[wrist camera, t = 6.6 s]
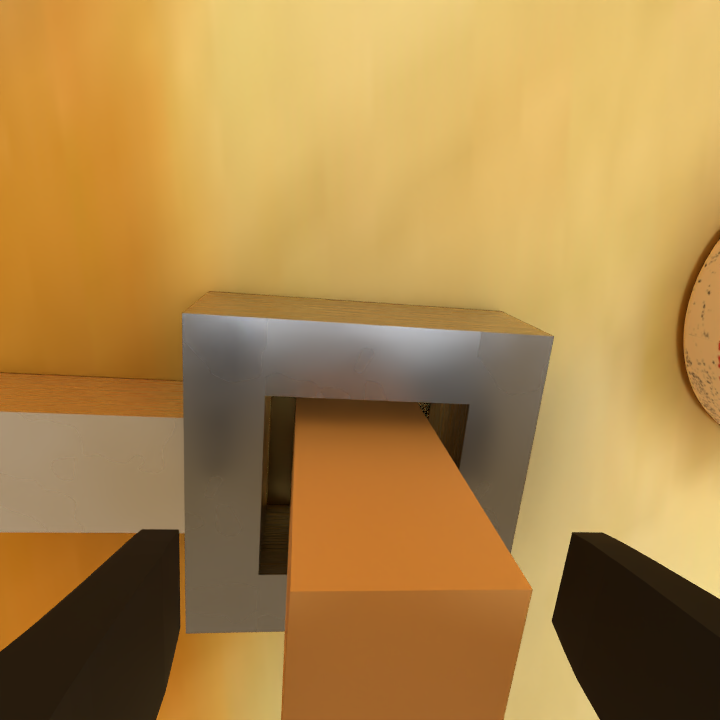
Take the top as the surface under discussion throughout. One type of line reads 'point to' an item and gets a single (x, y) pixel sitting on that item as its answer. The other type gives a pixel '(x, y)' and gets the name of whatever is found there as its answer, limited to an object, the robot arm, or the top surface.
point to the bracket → (261, 431)
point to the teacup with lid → (705, 335)
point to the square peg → (392, 574)
